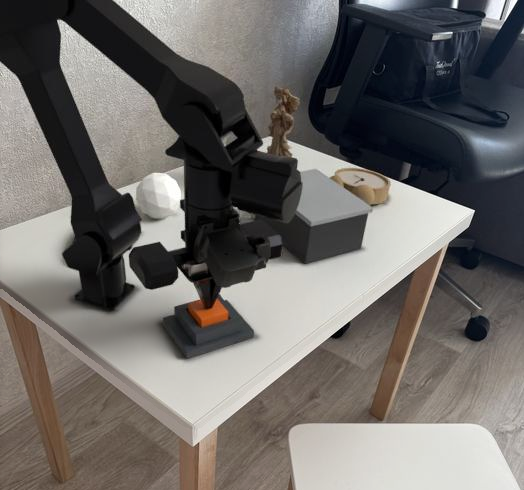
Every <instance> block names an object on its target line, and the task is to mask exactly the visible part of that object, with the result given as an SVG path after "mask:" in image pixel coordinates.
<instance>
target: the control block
mask: <svg viewBox="0 0 524 490" xmlns="http://www.w3.org/2000/svg"><path fill="white" fill-rule="evenodd" d="M217 299H218V300H219V301H220V303H221V304H222V305H223V306H224V307H225V308H226V310H227V311H228V320H225V321H222V322H219V323H215V324H212V325H209V326H205V327H202V328H200V327H199V326H198V324H197V323H196V322H195V321H194V319H193V318H192V317H191V315H190V314H189V313H188V303H191V302H195V301H198V300H201V299H200V298H199V299H197V300H193V301H189V302H185V303H182V304H178V305H174V306H173V312H174V313H173V314H170V315H168V316H167V315H166V316H163V317H162V318H161V319H162V325H163V327H164V328H165V330H166V331H167V333H168V334H169V335H170V337H171V338H172V339H173V341H174V342H175V344H176V345H177V346H178V348H179V350H180V351H181V352H182V354H183V355H184V356H185V358H186V359H187V360H188V359H191V358H194V357H197V356H200V355H204V354H207V353H210V352H213V351H216V350H219V349H222V348H225V347H228V346H232V345H236V344H238V343H241V342H244V341H247V340H250V339H253V338H254V337H255V330H254V329H253V328H252V327H251V326H250V324H249V323H248V321H246V320H245V319H244V318H243V316H242V315H241V314H240V313H239V312H238V311H237V310H236V308H235V307H234V306H233V305H232V304H231V302H230V301H229V300H228V299H224V298H223V297H222V296H221V294H219V295H218V297H217Z"/></svg>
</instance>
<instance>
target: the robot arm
mask: <svg viewBox="0 0 524 490" xmlns="http://www.w3.org/2000/svg"><path fill="white" fill-rule="evenodd" d="M58 21H62V22H64V23H65V24H66V25H67V26H68V27H70V28H71V29H72V30H73V31H74V32H76V33H77V34H78V35H79V36H81V38H83V39H84V40H85V41H87V42H88V43H89V44H90V45H91V46H92V47H94V48H95V49H96V50H97V51H99V53H101V55H103V56H104V57H106V58H107V59H108V60H109V61H110V62H112V63H113V64H114V65H115V66H117V67H118V68H119V69H120V70H121V71H122V72H124V73H125V74H126V75H127V76H128V77H130V78H131V79H132V80H133V81H135V82H136V83H137V84H138V85H139V86H141V87H142V88H143V90H145V91H146V92H147V93H148V95H150V96H151V97H152V98H153V99H154V102H155V103H156V105H157V108H158V111H159V113H160V115H161V117H162V119H163V120H164V121H165V123H167V124H168V125H169V127H170V128H171V129H172V130H173V131H174V132H175V134H177V136H178V137H177V139H176V140H175V142H174V143H172V144H171V145H170V146H169V147H168V148H166V149H165V151H164V153H165V155H166V156H167V157H171V158H175V159H178V160H181V161H183V198H182V199H181V200H180V205H179V208H180V209H181V210H182V211H183V212H184V229H183V230H180V239H181V240H182V241H183V243H184V247H180V248H179V247H178V248H176V249H172V250H167V248H166V247H165V246H164V245H163V243H162V242H161V241H156V242H152V243H148V244H142V245H139V246H134V244H135V243H137V241H138V240H139V239H140V236H141V234H142V227H141V222H142V221H143V217H141V216H140V214H139V212H138V211H137V208H136V205H135V201H134V198H133V196H132V195H131V193H130V192H125V193H123V194H122V193H120V191H118V190H117V189H116V188H115V187H114V186H112V185H111V184H110V183H109V181H108V178H107V175H106V174H105V171H104V169H103V166H102V164H101V161H100V159H99V157H98V154H97V151H96V150H95V147H94V144H93V142H92V139H91V137H90V134H89V132H88V129H87V127H86V125H85V122H84V120H83V118H82V115H81V113H80V110H79V108H78V106H77V103H76V100H75V98H74V95H73V93H72V91H71V89H70V86H69V83H68V81H67V79H66V76H65V74H64V72H63V69H62V66H61V48H62V47H61V46H62V45H61V44H62V32H61V29H60V25H59V23H58ZM0 63H1V64H2V65H3V66H4V67H5V68H7V70H9V71H10V72H11V73H12V74H13V75H15V76H16V78H17V79H18V81H19V83H20V86H21V87H22V90H23V93H24V94H25V96H26V99H27V101H28V103H29V105H30V108H31V109H32V112H33V114H34V116H35V118H36V121H37V123H38V125H39V127H40V130H41V132H42V134H43V136H44V138H45V140H46V143H47V145H48V147H49V150H50V152H51V154H52V156H53V159H54V161H55V164H56V166H57V167H58V170H59V172H60V174H61V176H62V178H63V180H64V183H65V185H66V188H67V189H68V190H67V191H68V192H69V194H70V197H71V207H70V208H71V209H70V226H71V229H72V232H73V235H74V236H75V238H76V241H75V242H74V243H73V244H72V243H71V245H69V246H68V247H67V248H66V249H65V250H64V251H62V252H61V257H62V258H63V260H64V262H65V265H66V267H67V268H69V269H71V270H74V271H78V277H79V281H80V288H81V289H80V290H79V291H78V292H76V293H75V294H73V295H74V296H73V298H74V300H75V301H77V302H80V303H83V304H86V305H90V306H93V307H96V308H100V309H103V310H105V311H110V312H112V311H115V310H116V309H117V308H118V307H119V306H120V305H121V304H122V303H123V302H124V301H125V300H126V299H127V298H128V297H130V295H131V294H132V293H133V292H134V291H135V290H136V285H135V284H131V283H128V282H127V274H126V272H127V271H126V264H125V263H126V262H125V257H124V254H125V253H127V252H128V251H130V252H129V254H128V264H129V268H130V269H131V271H132V272H133V273H134V276H136V278H137V279H138V280H139V282H140V283H141V284H142V287H144V289H146V290H151V291H153V290H157V289H161V288H164V287H169V286H173V285H174V283H176V281H177V280H178V279H179V271H180V272H181V273H182V274H183V276H184V277H185V278H186V279H187V281H188V282H190V283H192V284H193V286H194V288H195V290H196V293H197V294H198V297H199V300H200V299H201V301H202V303H203V305H204V307H205V308H206V309H211V308H213V306H214V303H215V301H216V299H217V297H218V295H220V292H221V291H222V289H226V288H230V287H232V286H235V285H238V284H241V283H242V284H243V283H249V282H251V281H252V280H253V278H254V275H255V272H256V271H260V270H263V269H266V268H267V264H268V263H269V261H270V260H273V259H274V260H275V259H279V258H282V255H283V250H284V249H283V248H284V244H283V240H282V237H281V236H280V235H279V234H278V233H277V232H275V231H274V230H273V229H272V228H271V227H270V226H269V225H267V224H266V223H265V222H264V221H263V220H262V219H260V220H256V219H255V220H252V221H247V222H243V223H240V221H241V219H240V213H239V212H244V213H248V214H250V215H254V216H255V215H257V216H261V217H264V218H268V219H271V220H275V221H278V222H282V223H289V222H290V221H291V219H292V218H293V216H294V214H295V212H296V210H297V207H298V205H299V201H300V198H301V193H302V187H303V182H301V173H300V172H301V171H300V170H299V169H298V165H299V164H298V163H299V160H298V158H296V157H293V156H292V157H289V156H277V155H273V154H269V153H267V152H265V151H261V150H259V149H260V148H261V147H263V146H264V142H263V139H262V137H261V135H260V133H259V132H258V129H257V128H256V125H255V124H254V121H253V120H252V118H251V116H250V114H249V112H248V111H247V108H246V104H245V100H244V98H245V95H244V93H243V91H242V89H241V88H240V87H239V86H238V85H237V84H236V83H235V82H234V81H233V80H231V79H229V78H228V77H227V76H225V75H223V74H221V73H220V72H218V71H216V70H214V69H213V68H212V67H210V66H207V65H204V64H201V63H198V62H195V61H193V60H189V59H186V58H185V57H183V56H181V55H180V54H178V53H177V52H176V51H174V50H173V49H172V48H171V47H170V46H168V45H167V44H166V43H164V42H163V41H162V40H161V39H160V38H159V37H157V36H156V35H155V34H154V33H153V32H152V31H150V29H148V28H147V27H146V26H144V25H143V24H142V23H141V22H140V21H138V20H137V18H135V17H134V16H133V15H131V14H130V13H129V12H128V11H127V10H125V9H124V8H123V7H122V6H120V5H119V4H118V3H117V2H116V1H115V0H0ZM231 134H232V135H234V136H235V139H234V140H233V141H231V142H229V143H228V144H226V146H224V144H223V142H222V141H221V140H222V139H224V138H225V137H227V136H228V135H230V136H231ZM227 138H228V137H227ZM234 208H236V209H237V210H238V211H239V212H238V211H237V210H235V209H234ZM133 246H134V247H133Z"/></svg>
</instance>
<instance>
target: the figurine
mask: <svg viewBox="0 0 524 490" xmlns="http://www.w3.org/2000/svg"><path fill="white" fill-rule="evenodd" d="M273 95H274V96H275V97H274V98H275V102H276V104H278V105H277V106H276V107H275V108H274V110H272V112H271V113H270V115H269V117H270V120H271V123H270V124H269V125H268V126H267V129H268V131H269V133H268V137H271V144H270V145H267V148H266V153H269V154H273V155H277V156H289V157H293V153H292V152H291V151H290V150H291V149H292V147H293V146H291V145H289V144H288V139H287V135H288V134H290V133H291V132H292V129H293V126H294V124H295V118H294V117H293V116H294V115H295V114H294V112H296V111H297V110H298V106H300V105H301V101H300V98H299V97H297V96H294V95H292V94H291V93H290V90H289V89H285V88H281V87H278V86H275V87H274V91H273Z"/></svg>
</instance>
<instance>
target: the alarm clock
mask: <svg viewBox="0 0 524 490" xmlns="http://www.w3.org/2000/svg"><path fill="white" fill-rule="evenodd" d="M329 178H330V179H332V180H333V181H335V182H336V183H338V184H339V185H340V186H342V187H343V188H345V189H346V190H348V191H349V192H351V193H352V194H354V195H355V196H356V197H358V198H359V199H361V200H362V201H364V202H365V203H367V204H368V205H370V206H371V207H372V205H380V204H383V203H385V202H386V201H387V200H388V196H389V191H390V187H391V185H392V183H391V180H390V179H389V178H388V177H387V176H385V175H383V174H382V173H379V172H376V171H373V170H370V169H367V168H359V167H343V168H340V169H337V170H336V171H334V174H333V175H331V176H330V177H329Z"/></svg>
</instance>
